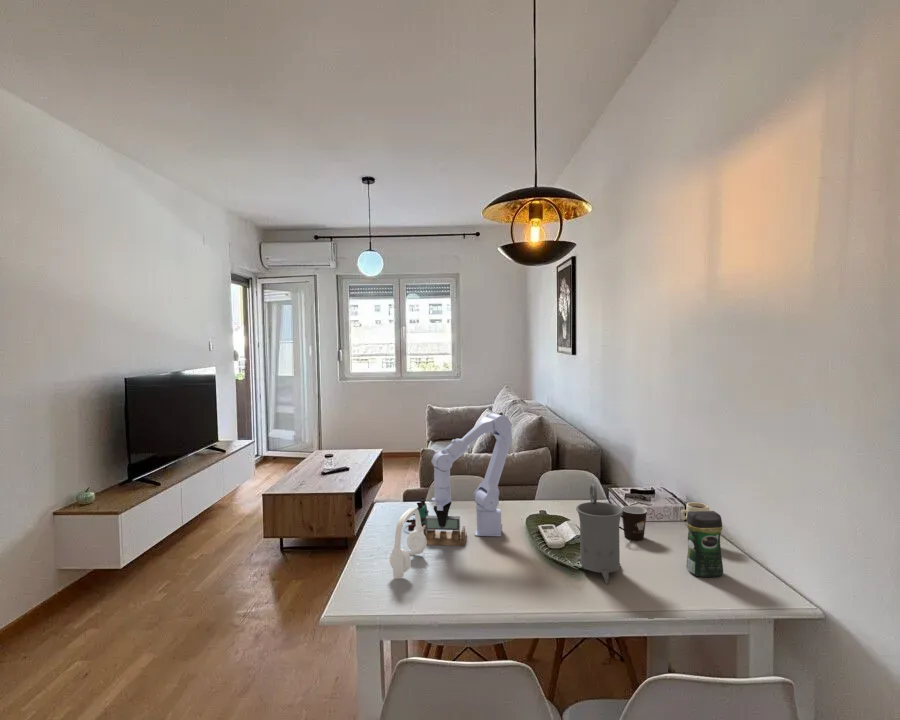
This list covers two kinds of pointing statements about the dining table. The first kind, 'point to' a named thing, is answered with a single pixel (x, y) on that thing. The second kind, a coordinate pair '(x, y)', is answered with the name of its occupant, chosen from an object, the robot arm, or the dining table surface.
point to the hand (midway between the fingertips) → (443, 524)
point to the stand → (445, 537)
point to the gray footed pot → (599, 535)
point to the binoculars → (423, 513)
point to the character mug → (694, 509)
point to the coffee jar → (704, 543)
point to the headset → (414, 541)
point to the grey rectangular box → (451, 524)
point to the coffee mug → (634, 522)
